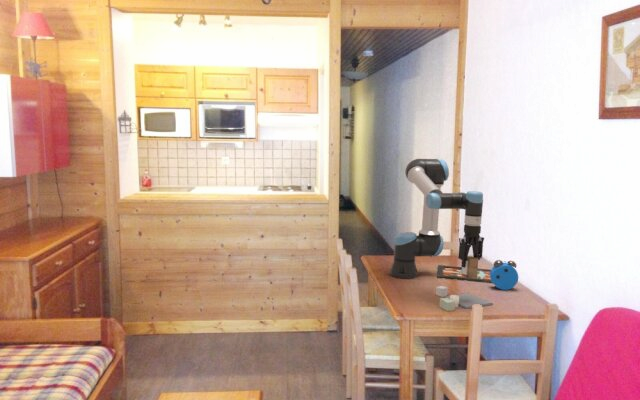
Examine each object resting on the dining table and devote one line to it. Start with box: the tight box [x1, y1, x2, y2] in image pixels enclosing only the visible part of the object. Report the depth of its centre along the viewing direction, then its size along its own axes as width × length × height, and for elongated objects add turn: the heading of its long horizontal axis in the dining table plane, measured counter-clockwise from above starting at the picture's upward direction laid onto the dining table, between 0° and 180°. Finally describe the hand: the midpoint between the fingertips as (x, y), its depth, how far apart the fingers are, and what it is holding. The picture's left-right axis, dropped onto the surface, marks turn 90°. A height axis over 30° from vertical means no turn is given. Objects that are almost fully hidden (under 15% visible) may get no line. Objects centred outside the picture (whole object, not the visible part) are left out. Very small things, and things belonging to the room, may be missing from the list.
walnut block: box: [462, 255, 479, 278], centre depth 251 cm, size 5×5×9 cm
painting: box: [436, 264, 493, 284], centre depth 303 cm, size 28×35×2 cm
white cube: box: [435, 285, 448, 298], centre depth 263 cm, size 4×4×4 cm
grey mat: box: [442, 292, 494, 310], centre depth 254 cm, size 16×16×1 cm
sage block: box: [438, 297, 456, 312], centre depth 243 cm, size 6×4×4 cm, turn 21°
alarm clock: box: [490, 259, 519, 291], centre depth 277 cm, size 13×6×15 cm, turn 85°
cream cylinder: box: [449, 294, 460, 309], centre depth 246 cm, size 4×4×5 cm
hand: (469, 273), depth 252 cm, fingers closed on walnut block, 5 cm apart
